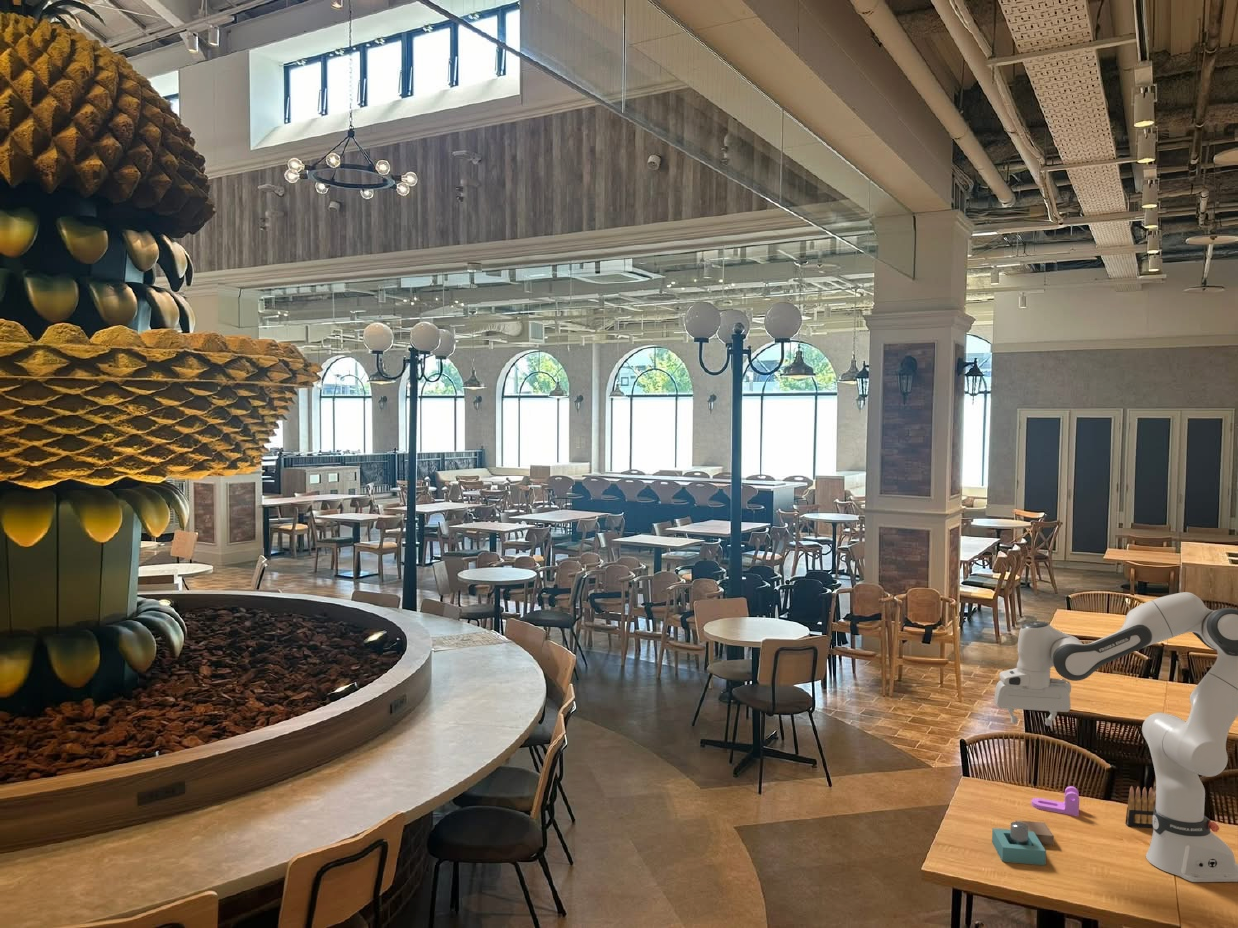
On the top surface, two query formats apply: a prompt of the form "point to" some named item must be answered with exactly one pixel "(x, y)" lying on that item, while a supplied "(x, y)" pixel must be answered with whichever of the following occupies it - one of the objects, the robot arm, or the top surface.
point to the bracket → (1060, 803)
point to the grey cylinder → (1019, 833)
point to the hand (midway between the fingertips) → (1031, 723)
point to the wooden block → (1040, 832)
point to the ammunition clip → (1140, 809)
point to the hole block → (1018, 848)
